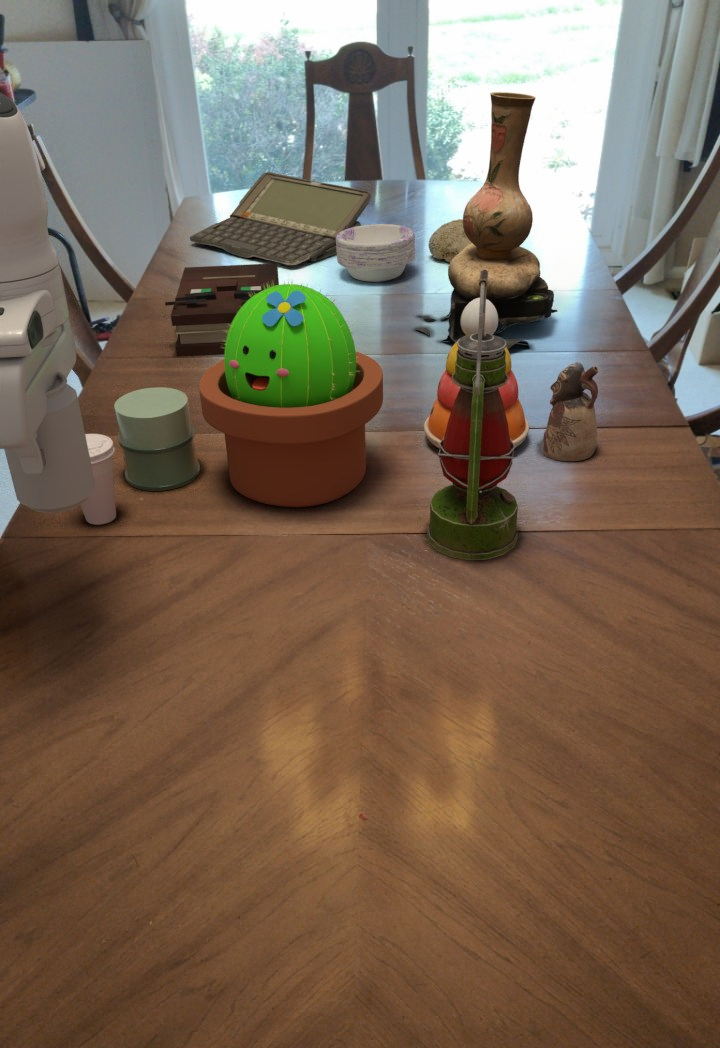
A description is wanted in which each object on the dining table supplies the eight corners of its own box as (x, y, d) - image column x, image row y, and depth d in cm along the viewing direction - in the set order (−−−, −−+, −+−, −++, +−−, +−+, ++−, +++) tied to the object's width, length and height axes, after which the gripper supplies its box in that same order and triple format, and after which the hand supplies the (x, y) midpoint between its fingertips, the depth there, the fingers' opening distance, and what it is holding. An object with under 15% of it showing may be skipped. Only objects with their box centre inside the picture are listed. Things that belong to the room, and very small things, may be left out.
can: (112, 496, 96) (90, 379, 88) (45, 526, 91) (16, 405, 84) (68, 472, 100) (44, 358, 92) (3, 499, 96) (-29, 382, 88)
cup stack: (119, 492, 126) (104, 420, 120) (132, 457, 134) (119, 387, 127) (195, 490, 126) (184, 417, 120) (204, 454, 133) (194, 385, 127)
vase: (586, 330, 166) (612, 96, 144) (484, 362, 156) (497, 116, 135) (495, 295, 181) (506, 79, 160) (397, 321, 172) (396, 96, 150)
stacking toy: (451, 409, 142) (455, 273, 131) (543, 429, 137) (556, 287, 125) (405, 450, 133) (405, 306, 121) (502, 472, 127) (512, 323, 115)
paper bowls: (334, 266, 198) (332, 224, 193) (408, 261, 199) (408, 220, 194) (341, 290, 186) (339, 246, 181) (420, 285, 187) (420, 241, 182)
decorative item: (441, 250, 191) (424, 216, 195) (439, 285, 199) (423, 251, 203) (499, 235, 192) (481, 202, 197) (495, 271, 200) (478, 238, 204)
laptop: (269, 219, 228) (265, 170, 222) (375, 241, 211) (374, 189, 205) (187, 245, 213) (180, 193, 206) (294, 271, 196) (290, 216, 190)
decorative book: (283, 254, 180) (282, 310, 156) (286, 295, 184) (285, 356, 161) (178, 259, 179) (160, 315, 156) (184, 300, 184) (167, 361, 160)
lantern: (517, 570, 109) (539, 299, 90) (421, 565, 110) (424, 297, 92) (519, 507, 120) (539, 254, 101) (432, 503, 121) (436, 252, 103)
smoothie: (85, 502, 124) (62, 398, 115) (134, 505, 123) (114, 400, 114) (66, 529, 119) (40, 421, 110) (117, 531, 118) (95, 423, 109)
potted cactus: (268, 427, 140) (251, 245, 124) (409, 455, 132) (410, 264, 116) (180, 497, 124) (149, 299, 109) (334, 534, 116) (324, 325, 101)
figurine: (556, 433, 135) (564, 349, 128) (604, 446, 132) (615, 360, 125) (532, 453, 131) (539, 367, 124) (581, 467, 127) (591, 379, 120)
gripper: (9, 264, 92) (40, 402, 101) (-63, 346, 76) (-19, 502, 84) (76, 263, 92) (102, 401, 101) (18, 344, 76) (55, 501, 84)
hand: (46, 448), depth 92 cm, fingers closed on can, 7 cm apart
